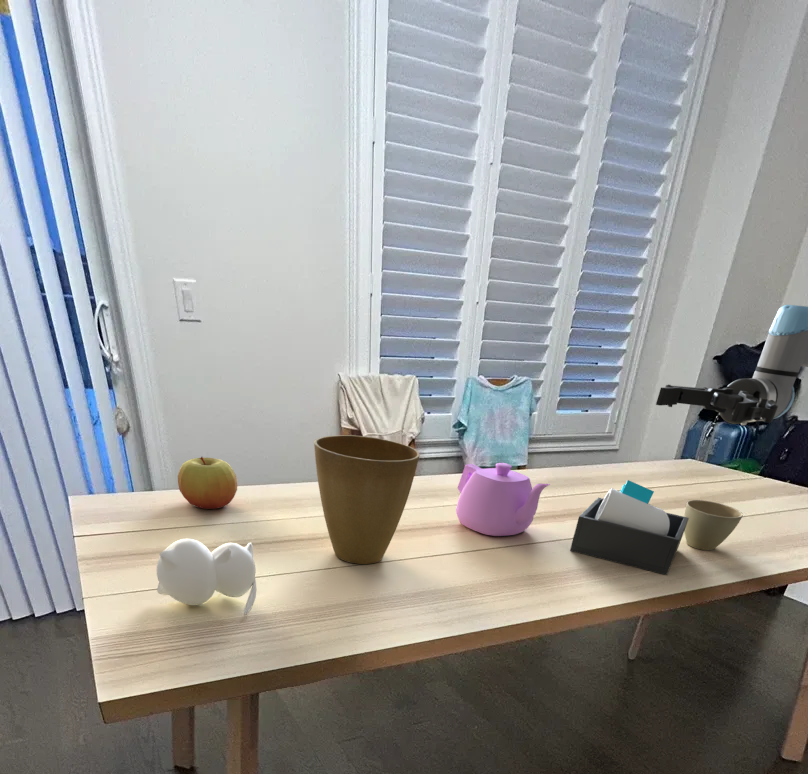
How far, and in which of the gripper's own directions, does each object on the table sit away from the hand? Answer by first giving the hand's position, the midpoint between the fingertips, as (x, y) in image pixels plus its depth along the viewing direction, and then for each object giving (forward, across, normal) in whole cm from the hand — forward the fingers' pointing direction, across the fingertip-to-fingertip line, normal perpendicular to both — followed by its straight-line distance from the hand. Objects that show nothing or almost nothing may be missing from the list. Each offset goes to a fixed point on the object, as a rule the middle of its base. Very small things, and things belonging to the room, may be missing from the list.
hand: (697, 403), depth 106 cm
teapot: (+23, +20, -24) cm, 39 cm away
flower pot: (-8, -6, -24) cm, 26 cm away
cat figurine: (+82, +18, -24) cm, 87 cm away
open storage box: (+10, 0, -24) cm, 26 cm away
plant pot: (+54, +21, -24) cm, 63 cm away
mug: (+11, +1, -22) cm, 25 cm away
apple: (+63, +52, -24) cm, 85 cm away
